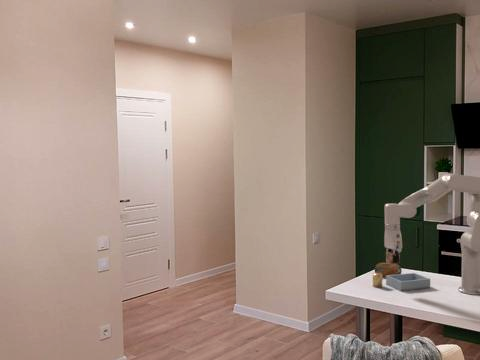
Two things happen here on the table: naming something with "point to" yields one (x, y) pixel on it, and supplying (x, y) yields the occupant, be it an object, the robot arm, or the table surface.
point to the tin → (388, 269)
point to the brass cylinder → (377, 280)
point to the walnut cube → (390, 257)
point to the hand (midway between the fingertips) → (393, 261)
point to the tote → (407, 281)
